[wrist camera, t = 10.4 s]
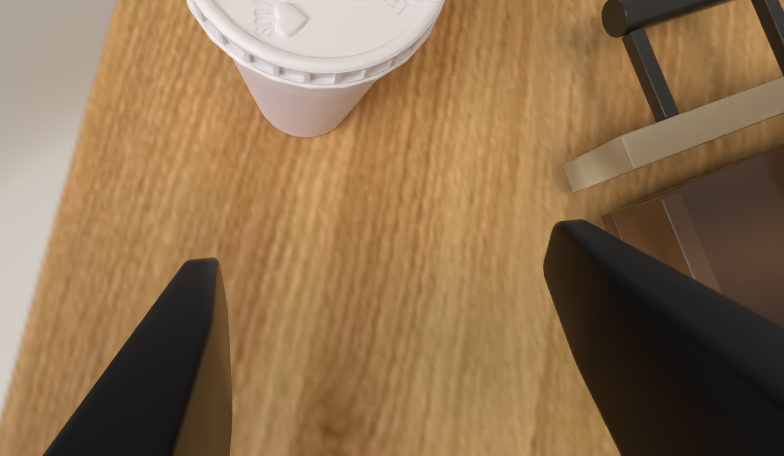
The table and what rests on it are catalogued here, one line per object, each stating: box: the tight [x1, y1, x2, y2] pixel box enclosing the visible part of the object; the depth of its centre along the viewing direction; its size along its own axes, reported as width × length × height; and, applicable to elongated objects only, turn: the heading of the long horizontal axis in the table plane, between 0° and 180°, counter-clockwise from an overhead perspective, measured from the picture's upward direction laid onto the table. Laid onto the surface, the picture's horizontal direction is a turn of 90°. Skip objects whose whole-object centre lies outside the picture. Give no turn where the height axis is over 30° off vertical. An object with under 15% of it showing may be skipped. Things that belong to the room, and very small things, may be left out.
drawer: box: [562, 0, 784, 327], centre depth 22 cm, size 19×12×4 cm, turn 21°
